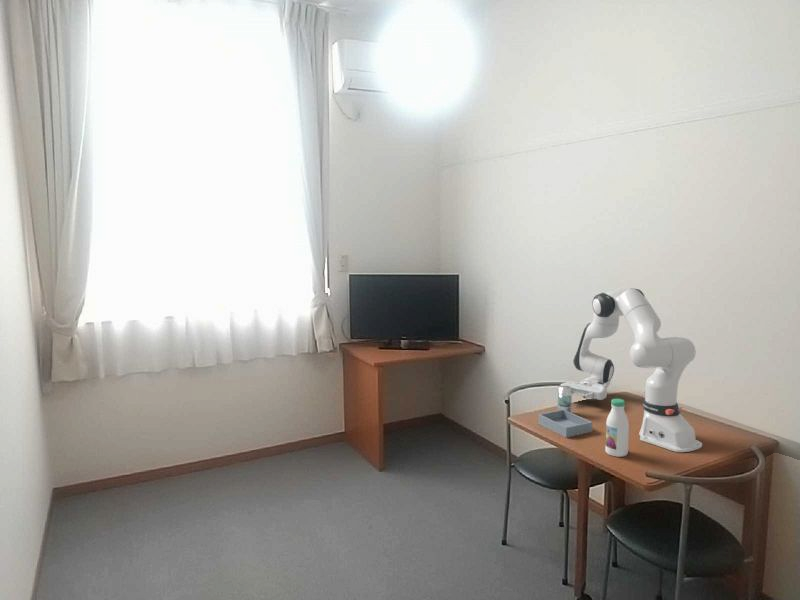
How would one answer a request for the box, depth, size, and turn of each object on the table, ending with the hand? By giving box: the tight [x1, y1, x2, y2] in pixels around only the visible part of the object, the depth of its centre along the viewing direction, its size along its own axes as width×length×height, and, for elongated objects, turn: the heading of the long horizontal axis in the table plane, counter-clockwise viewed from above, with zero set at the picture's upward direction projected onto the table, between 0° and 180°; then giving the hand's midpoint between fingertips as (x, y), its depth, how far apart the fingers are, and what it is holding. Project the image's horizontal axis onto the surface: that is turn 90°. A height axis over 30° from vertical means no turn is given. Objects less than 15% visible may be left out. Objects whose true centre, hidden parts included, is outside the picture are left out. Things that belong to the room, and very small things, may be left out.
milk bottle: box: [604, 398, 630, 458], centre depth 201 cm, size 8×8×20 cm
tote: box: [537, 409, 593, 439], centre depth 228 cm, size 17×13×4 cm
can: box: [557, 385, 573, 413], centre depth 244 cm, size 6×6×12 cm
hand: (574, 394), depth 250 cm, fingers open, 8 cm apart
